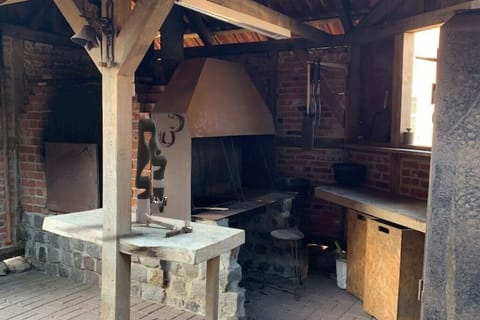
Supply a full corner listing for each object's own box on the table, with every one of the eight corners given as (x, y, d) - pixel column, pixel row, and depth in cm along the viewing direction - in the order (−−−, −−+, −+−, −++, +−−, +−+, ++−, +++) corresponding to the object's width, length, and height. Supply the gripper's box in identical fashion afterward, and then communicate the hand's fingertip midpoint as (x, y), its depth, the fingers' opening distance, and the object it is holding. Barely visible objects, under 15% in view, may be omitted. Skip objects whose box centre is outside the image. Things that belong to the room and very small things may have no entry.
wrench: (175, 234, 296) (139, 224, 308) (177, 233, 298) (141, 223, 310) (177, 222, 295) (140, 212, 307) (178, 222, 297) (142, 212, 309)
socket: (151, 213, 287) (151, 203, 286) (157, 211, 292) (158, 201, 291) (158, 214, 283) (158, 204, 283) (164, 212, 288) (164, 203, 288)
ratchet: (163, 236, 278) (163, 224, 277) (186, 230, 296) (186, 218, 295) (171, 237, 274) (171, 225, 273) (194, 231, 292) (194, 220, 291)
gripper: (146, 185, 287) (145, 211, 288) (162, 188, 279) (162, 214, 280) (154, 184, 293) (154, 209, 295) (170, 186, 285) (170, 212, 287)
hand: (158, 211), depth 287 cm, fingers closed on socket, 6 cm apart
